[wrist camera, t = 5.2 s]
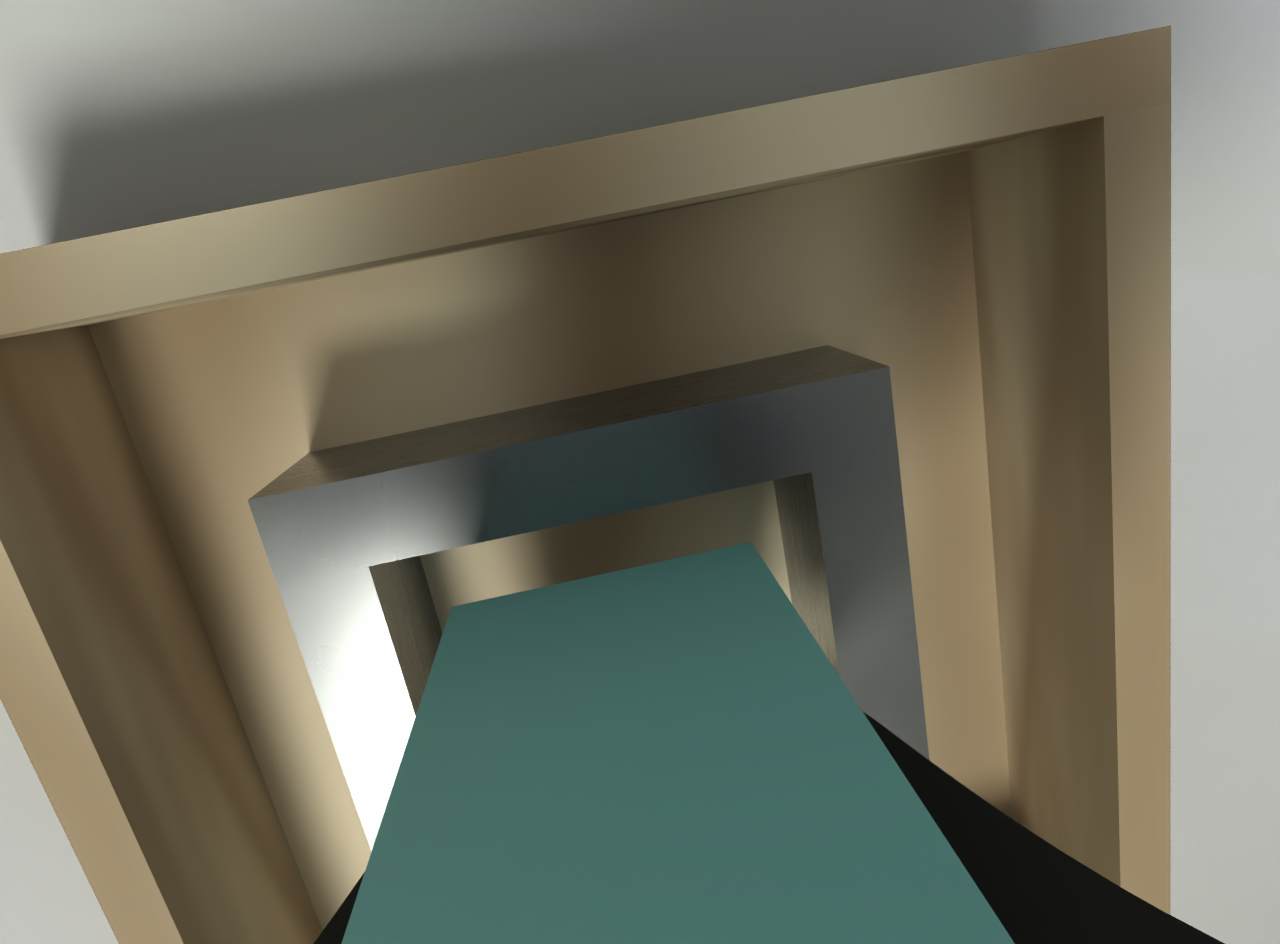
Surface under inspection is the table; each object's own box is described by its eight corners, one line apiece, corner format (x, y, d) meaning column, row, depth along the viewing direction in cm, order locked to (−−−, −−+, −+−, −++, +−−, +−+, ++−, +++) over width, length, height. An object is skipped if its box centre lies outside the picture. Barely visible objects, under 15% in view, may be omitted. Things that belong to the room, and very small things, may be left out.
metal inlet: (827, 345, 13) (889, 366, 10) (881, 779, 15) (941, 879, 13) (309, 452, 12) (247, 500, 10) (446, 877, 15) (423, 1000, 12)
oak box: (985, 95, 13) (1171, 26, 9) (1031, 849, 17) (1170, 1026, 13) (45, 279, 12) (-197, 292, 8) (336, 1011, 16) (264, 1246, 12)
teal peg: (751, 542, 10) (1100, 1071, 4) (792, 794, 11) (1116, 1558, 5) (451, 606, 10) (229, 1284, 3) (522, 855, 11) (458, 1740, 5)
